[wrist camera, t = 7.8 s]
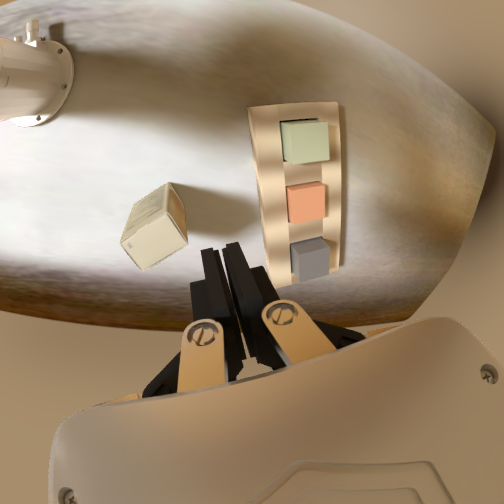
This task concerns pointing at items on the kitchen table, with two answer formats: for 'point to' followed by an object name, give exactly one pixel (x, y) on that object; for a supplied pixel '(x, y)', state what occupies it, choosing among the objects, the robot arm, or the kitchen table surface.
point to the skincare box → (155, 228)
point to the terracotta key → (305, 202)
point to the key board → (285, 174)
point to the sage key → (305, 141)
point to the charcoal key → (310, 258)
